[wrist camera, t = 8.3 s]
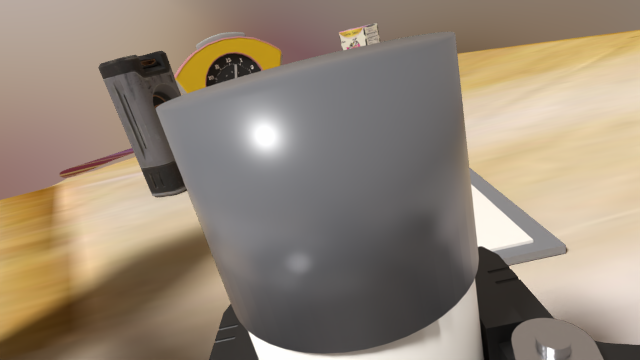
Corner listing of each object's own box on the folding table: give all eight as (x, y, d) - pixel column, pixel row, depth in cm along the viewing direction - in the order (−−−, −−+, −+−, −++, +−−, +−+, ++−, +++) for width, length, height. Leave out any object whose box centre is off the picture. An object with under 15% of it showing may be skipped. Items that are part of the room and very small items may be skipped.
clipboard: (236, 323, 26) (228, 304, 26) (273, 181, 52) (270, 170, 52) (565, 253, 25) (565, 231, 24) (434, 143, 51) (432, 131, 51)
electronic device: (180, 195, 57) (125, 56, 50) (148, 199, 59) (91, 66, 52) (212, 171, 65) (169, 49, 58) (183, 175, 67) (138, 58, 60)
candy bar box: (350, 91, 112) (337, 32, 106) (363, 86, 114) (351, 29, 109) (375, 90, 103) (363, 26, 97) (389, 85, 105) (378, 22, 99)
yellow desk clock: (203, 159, 75) (162, 45, 68) (198, 151, 84) (161, 49, 76) (305, 125, 82) (277, 18, 75) (290, 121, 90) (264, 25, 83)
